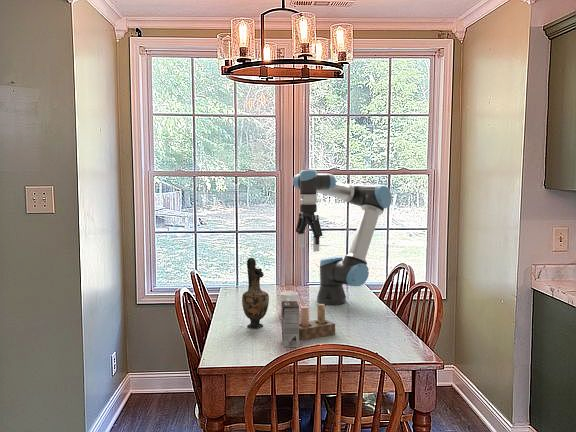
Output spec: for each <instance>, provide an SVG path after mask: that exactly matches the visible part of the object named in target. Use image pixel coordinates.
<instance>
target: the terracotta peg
mask: <svg viewBox="0 0 576 432" xmlns="http://www.w3.org/2000/svg"><path fill="white" fill-rule="evenodd" d="M309 312H310V311H309V306H305V305H304V306H301V307H300V322H301V327H309V321H310V320H309V319H310V318H309V316H310V313H309Z"/></svg>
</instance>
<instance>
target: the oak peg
mask: <svg viewBox="0 0 576 432" xmlns="http://www.w3.org/2000/svg"><path fill="white" fill-rule="evenodd" d="M316 308H317V309H316V311H317V312H316V313H317V314H316V315H317V319H316V320H317V323H318V324H319V325H321V324H325V319H326V304H322V303H318V304H317V307H316Z"/></svg>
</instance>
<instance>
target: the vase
mask: <svg viewBox="0 0 576 432" xmlns="http://www.w3.org/2000/svg"><path fill="white" fill-rule="evenodd" d="M256 266H257V262H256V259H255V258H254V257H249V258H247V261H246V267H247V271H246V272H247V279H248V280H247V281H248V287H247V290H246V291H244V292H243V294H242V296H241V297H242V298H241V305H242V310H243V313H244V315H245V316H246V318H248V320H249V321H250V323H249V324H247V326H246V327H247V329H251V330H252V329H254V330H255V329H256V330H257V329H258V330H259V329H262V328H264V324H262V323H261V319H263V318H264V317H265V316H266V314H267V311H268V309H269V305H270V303H269V301H270V296H269V293H268V292H266V291H264V290H262V289H261V286H260V285H261V282H260V281H261V278H263V277H264V275H265V274H264V272H263V271H262V270H263V269H262V268H257V267H256Z"/></svg>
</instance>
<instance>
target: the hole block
mask: <svg viewBox="0 0 576 432" xmlns="http://www.w3.org/2000/svg"><path fill="white" fill-rule="evenodd" d="M333 334H334V335H336V323H335V322H332V321H331V320H328V319H326V318H325V324H321V325H319V324H318V323H317V319H313V320H309V327H301V321H299V340H300V341H305V340H311V339H316V338H323V337H327V336H328V335H329V336H333Z"/></svg>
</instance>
